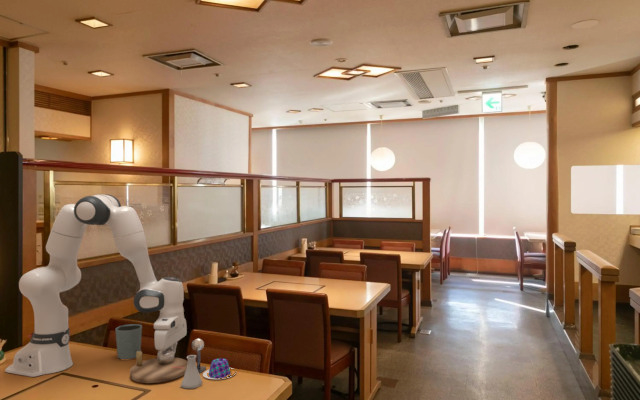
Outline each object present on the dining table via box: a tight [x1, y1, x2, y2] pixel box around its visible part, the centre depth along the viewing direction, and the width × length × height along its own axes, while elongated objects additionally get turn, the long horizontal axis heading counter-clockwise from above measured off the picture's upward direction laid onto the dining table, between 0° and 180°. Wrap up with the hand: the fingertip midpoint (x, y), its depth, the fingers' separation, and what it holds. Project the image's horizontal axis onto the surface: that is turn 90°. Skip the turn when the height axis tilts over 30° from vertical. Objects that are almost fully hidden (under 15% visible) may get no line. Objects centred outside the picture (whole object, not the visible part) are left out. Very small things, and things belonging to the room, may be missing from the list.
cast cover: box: [156, 349, 175, 365], centre depth 168 cm, size 6×6×4 cm
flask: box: [180, 354, 203, 390], centre depth 154 cm, size 7×7×10 cm
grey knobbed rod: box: [191, 337, 207, 374], centre depth 167 cm, size 4×4×12 cm
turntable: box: [129, 350, 188, 384], centre depth 164 cm, size 20×20×7 cm
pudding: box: [202, 358, 237, 380], centre depth 164 cm, size 12×12×5 cm
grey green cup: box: [114, 323, 143, 360], centre depth 183 cm, size 10×10×12 cm
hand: (171, 354), depth 173 cm, fingers closed
